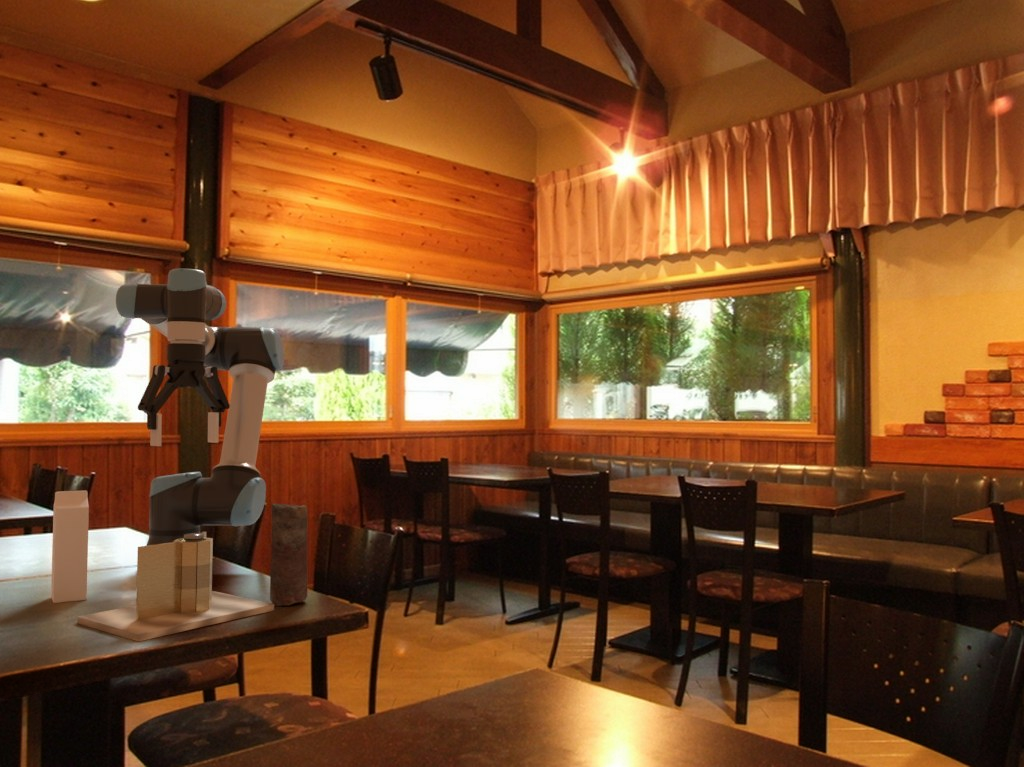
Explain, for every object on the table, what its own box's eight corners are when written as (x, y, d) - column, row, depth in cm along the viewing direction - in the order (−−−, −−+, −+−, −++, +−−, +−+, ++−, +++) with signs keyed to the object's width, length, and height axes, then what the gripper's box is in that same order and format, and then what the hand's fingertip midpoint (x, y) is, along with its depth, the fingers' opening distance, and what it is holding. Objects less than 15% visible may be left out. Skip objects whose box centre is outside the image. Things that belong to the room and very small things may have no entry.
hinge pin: (195, 605, 161) (196, 532, 161) (206, 608, 159) (208, 534, 159) (178, 609, 158) (180, 534, 158) (189, 612, 156) (191, 536, 156)
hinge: (203, 595, 170) (205, 531, 170) (238, 603, 163) (239, 536, 164) (112, 613, 154) (114, 542, 155) (147, 623, 148) (149, 548, 148)
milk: (86, 600, 171) (90, 491, 171) (52, 603, 167) (56, 492, 168) (83, 594, 176) (86, 488, 176) (50, 597, 172) (53, 490, 173)
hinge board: (211, 596, 175) (211, 590, 175) (274, 610, 163) (274, 604, 163) (77, 623, 152) (77, 616, 152) (138, 641, 140) (138, 634, 140)
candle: (268, 600, 172) (270, 502, 173) (304, 597, 175) (306, 501, 175) (271, 608, 165) (273, 506, 166) (309, 605, 168) (311, 504, 168)
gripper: (225, 346, 189) (224, 440, 189) (120, 340, 168) (118, 446, 168) (246, 345, 185) (245, 441, 184) (141, 339, 164) (140, 448, 164)
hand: (185, 444), depth 176 cm, fingers open, 13 cm apart
